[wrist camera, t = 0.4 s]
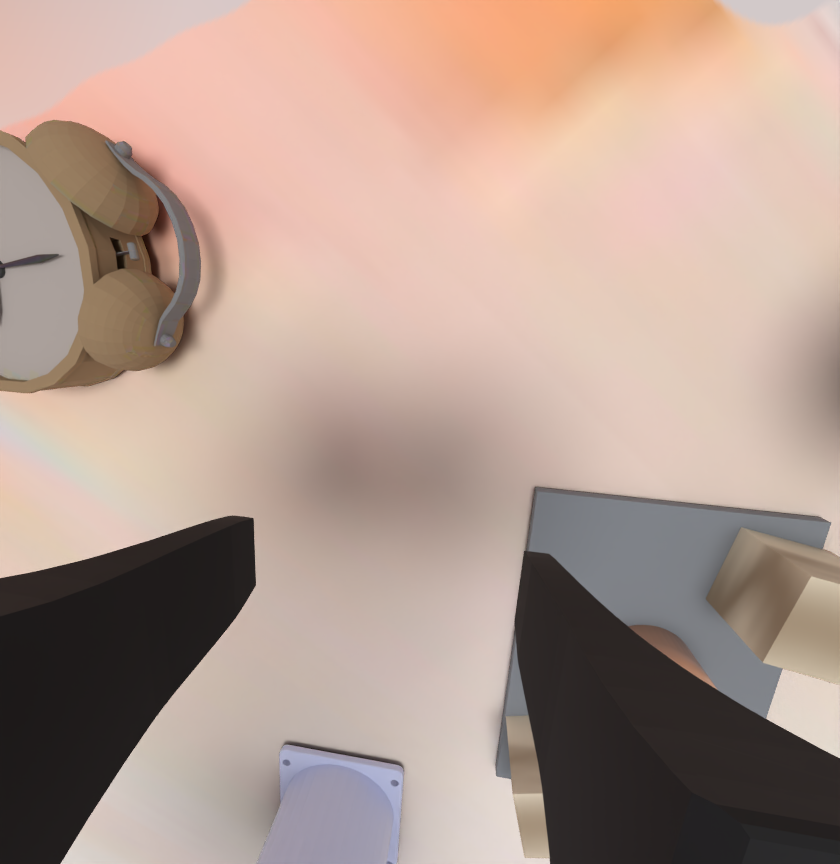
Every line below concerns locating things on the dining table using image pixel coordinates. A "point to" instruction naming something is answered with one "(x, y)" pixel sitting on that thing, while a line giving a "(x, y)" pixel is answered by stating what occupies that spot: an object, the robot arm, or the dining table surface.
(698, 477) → the dining table surface
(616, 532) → the slate mat
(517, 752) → the birch cube
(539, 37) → the dining table surface
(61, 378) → the alarm clock
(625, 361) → the dining table surface
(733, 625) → the birch cube
